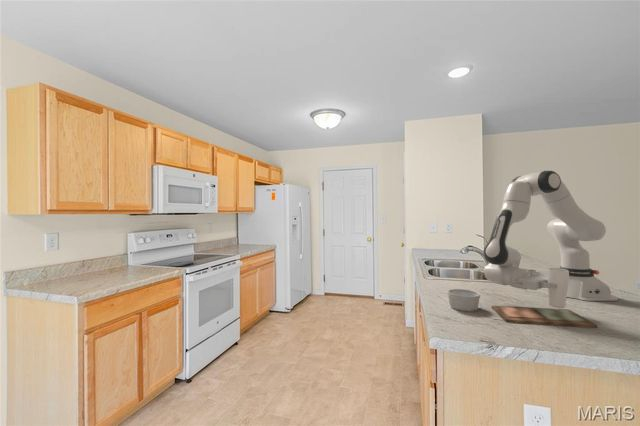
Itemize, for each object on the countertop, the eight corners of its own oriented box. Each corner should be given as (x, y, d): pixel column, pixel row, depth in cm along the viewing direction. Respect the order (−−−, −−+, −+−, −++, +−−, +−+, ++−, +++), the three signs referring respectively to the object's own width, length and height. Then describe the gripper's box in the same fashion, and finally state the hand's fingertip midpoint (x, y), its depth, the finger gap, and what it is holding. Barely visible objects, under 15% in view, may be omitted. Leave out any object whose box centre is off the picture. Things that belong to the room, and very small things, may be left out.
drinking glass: (571, 309, 117) (573, 271, 116) (552, 308, 118) (553, 270, 118) (561, 304, 123) (562, 268, 123) (543, 302, 125) (544, 267, 124)
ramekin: (483, 307, 136) (483, 291, 136) (475, 314, 126) (474, 298, 126) (453, 301, 145) (453, 287, 145) (443, 308, 135) (443, 293, 135)
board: (569, 311, 127) (569, 308, 127) (597, 327, 110) (597, 324, 110) (491, 307, 135) (491, 304, 135) (505, 322, 117) (505, 318, 117)
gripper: (510, 274, 126) (548, 280, 114) (533, 269, 137) (571, 274, 125) (510, 289, 126) (548, 297, 114) (534, 282, 137) (571, 289, 125)
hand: (560, 285), depth 120 cm, fingers closed on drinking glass, 6 cm apart
